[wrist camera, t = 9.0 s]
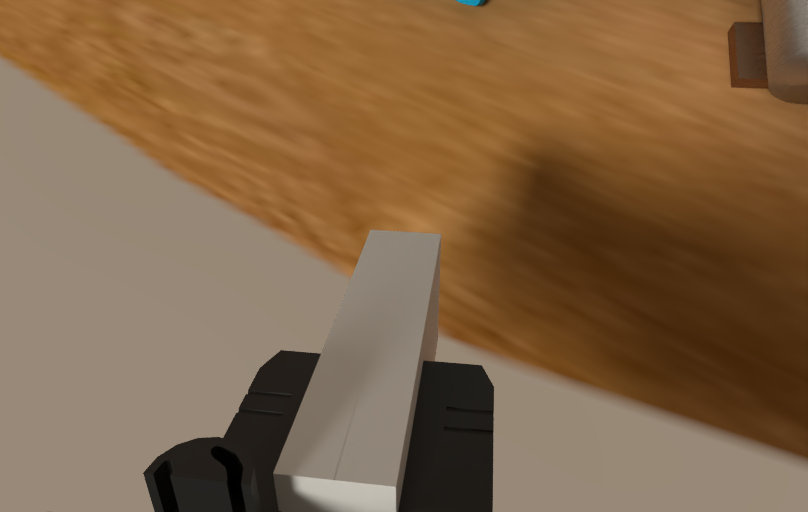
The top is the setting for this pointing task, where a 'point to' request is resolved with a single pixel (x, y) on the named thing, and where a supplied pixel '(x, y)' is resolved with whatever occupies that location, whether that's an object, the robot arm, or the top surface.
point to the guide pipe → (773, 51)
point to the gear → (472, 2)
